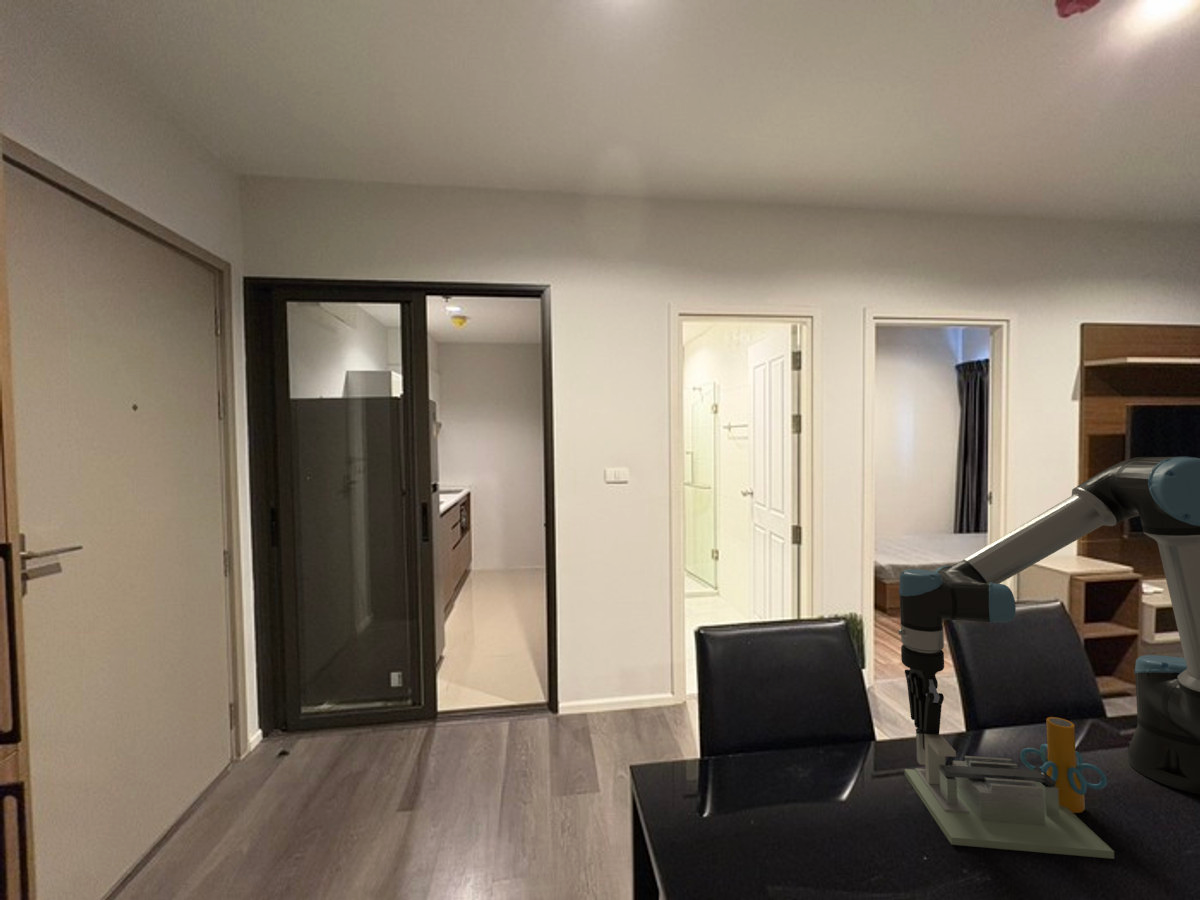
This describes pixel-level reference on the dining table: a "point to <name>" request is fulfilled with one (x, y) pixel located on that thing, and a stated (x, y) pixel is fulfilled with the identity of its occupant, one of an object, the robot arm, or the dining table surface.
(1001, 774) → the strap
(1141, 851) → the dining table surface
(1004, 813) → the heatsink
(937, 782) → the latch
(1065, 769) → the orange tube with rings
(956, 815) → the board
